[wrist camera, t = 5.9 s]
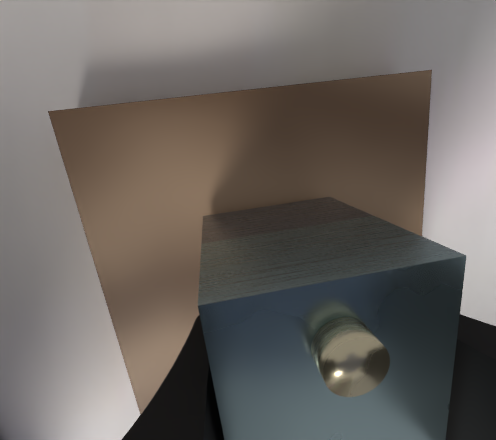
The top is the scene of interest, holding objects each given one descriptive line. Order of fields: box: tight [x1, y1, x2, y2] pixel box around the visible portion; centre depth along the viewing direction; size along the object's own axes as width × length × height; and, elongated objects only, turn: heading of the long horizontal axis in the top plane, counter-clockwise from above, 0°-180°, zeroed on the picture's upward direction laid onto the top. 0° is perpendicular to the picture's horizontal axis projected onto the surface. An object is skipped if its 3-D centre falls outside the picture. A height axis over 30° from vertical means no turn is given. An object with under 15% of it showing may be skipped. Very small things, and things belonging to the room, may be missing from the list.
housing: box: [198, 197, 466, 440], centre depth 9 cm, size 5×8×7 cm, turn 7°
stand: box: [48, 70, 432, 414], centre depth 13 cm, size 16×14×2 cm
